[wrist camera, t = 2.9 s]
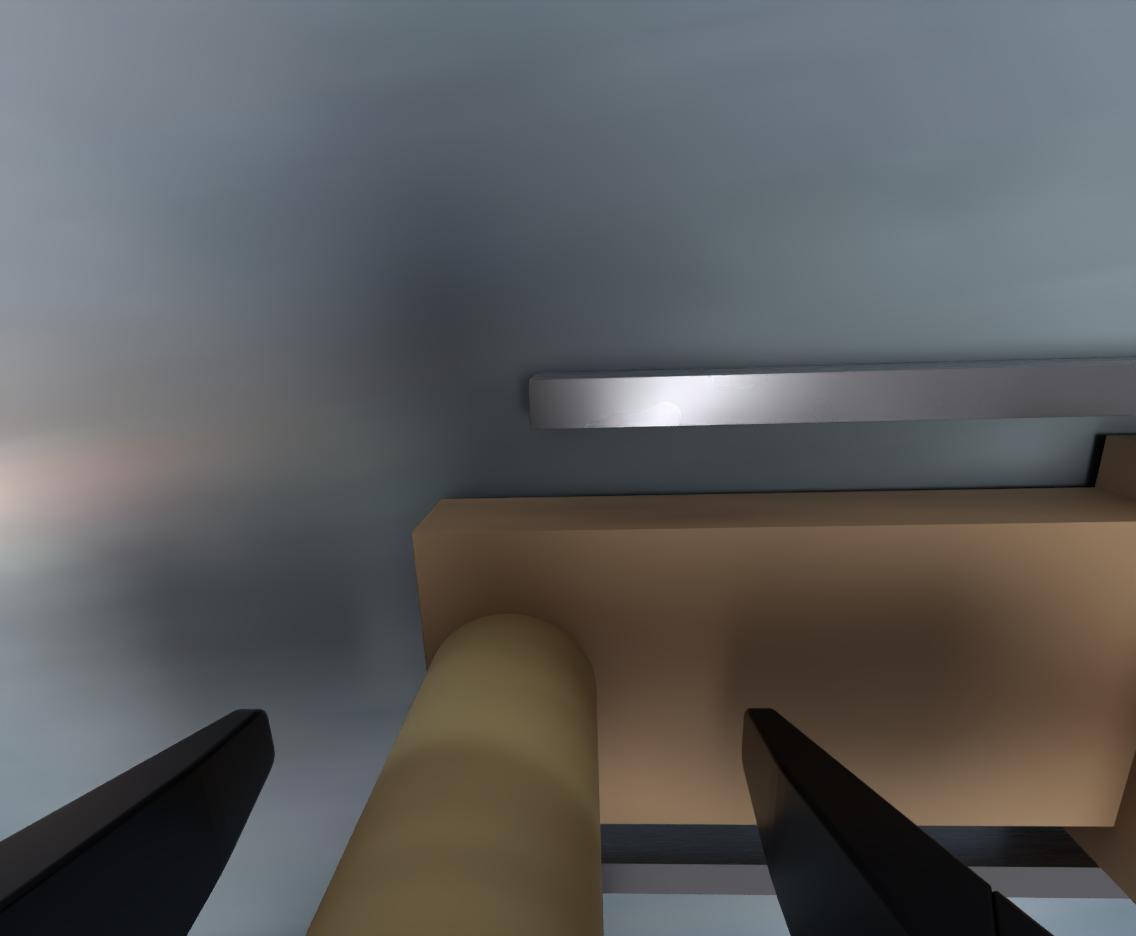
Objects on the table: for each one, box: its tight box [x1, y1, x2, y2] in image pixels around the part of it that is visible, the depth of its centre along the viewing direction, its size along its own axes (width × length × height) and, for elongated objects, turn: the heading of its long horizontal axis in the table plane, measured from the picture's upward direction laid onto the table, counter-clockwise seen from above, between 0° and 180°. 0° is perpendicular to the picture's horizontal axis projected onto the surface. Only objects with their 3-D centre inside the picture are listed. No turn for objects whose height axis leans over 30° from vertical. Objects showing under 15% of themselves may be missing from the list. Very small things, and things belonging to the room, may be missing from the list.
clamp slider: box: [306, 435, 1136, 936], centre depth 7 cm, size 8×14×8 cm, turn 92°
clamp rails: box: [528, 357, 1136, 898], centre depth 10 cm, size 11×19×2 cm, turn 92°
